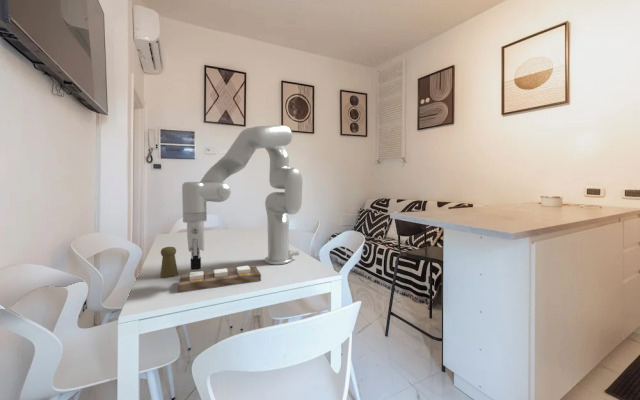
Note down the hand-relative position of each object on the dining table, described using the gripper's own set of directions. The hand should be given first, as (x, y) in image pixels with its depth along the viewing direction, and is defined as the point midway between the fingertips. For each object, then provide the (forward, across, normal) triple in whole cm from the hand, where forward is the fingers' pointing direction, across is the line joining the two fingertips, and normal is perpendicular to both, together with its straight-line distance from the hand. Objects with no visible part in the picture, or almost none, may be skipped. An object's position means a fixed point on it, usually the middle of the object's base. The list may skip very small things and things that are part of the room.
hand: (195, 269), depth 95 cm
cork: (+6, +15, +10) cm, 19 cm away
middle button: (+4, 0, -8) cm, 9 cm away
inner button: (+4, 0, -16) cm, 17 cm away
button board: (+6, 0, -8) cm, 10 cm away
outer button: (+4, 0, 0) cm, 4 cm away
